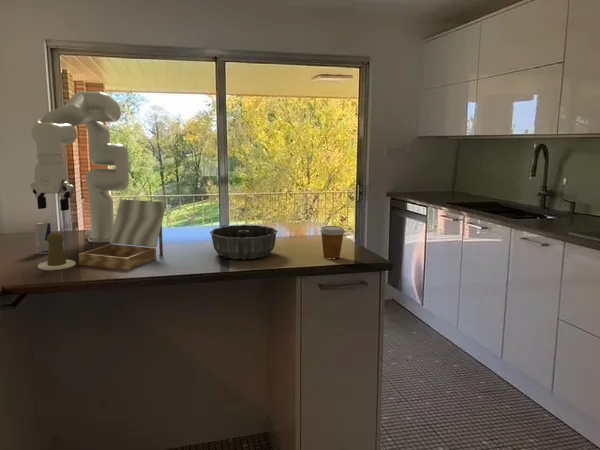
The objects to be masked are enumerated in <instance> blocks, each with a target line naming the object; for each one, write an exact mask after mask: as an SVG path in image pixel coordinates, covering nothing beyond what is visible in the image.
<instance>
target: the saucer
mask: <svg viewBox="0 0 600 450" xmlns="http://www.w3.org/2000/svg"><path fill="white" fill-rule="evenodd" d="M47 263H48V260H47V261H44V262H40V263H38V264H37V269H38V270H39V271H40V270H41V271H59V270H61V269H62V270H67V269H71V268H73V267H75V266H76V260H72V259H66V264H64V265H59V266H49V265H47ZM62 270H61V271H62Z"/></svg>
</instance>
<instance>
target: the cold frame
mask: <svg viewBox="0 0 600 450" xmlns="http://www.w3.org/2000/svg"><path fill="white" fill-rule="evenodd" d="M118 204H119V205H118V208H117V212H116V215H115V219H114V228H113V232H112V236H111V241H110V242H109V244H106V245H103V246H99V247H96V248H93V249H90V250H87V251H83V252H79V253H78V265H80V266H81V265H82V266H90V267H99V268H107V269H108V268H110V269H118V270H119V269H120V270H126V271H129V270H131V269H134V268H136V267H138V266H141V265H143V264H146V263H148V262H150V261H154V260H156V259H157V247H158V246H159V247H158V248H159V256H161V257H163V256H164V254H163V253H164V249H163V248H164V247H163V246H164V245H163V243H164V242H163V220H164V215H165V209H166V205H167V202H166V201H154V200H152V201H151V200H140V199H139V200H138V199H137V200H136V199H123V198H122V199H120V200H119V203H118ZM158 244H159V245H158Z"/></svg>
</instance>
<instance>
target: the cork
mask: <svg viewBox="0 0 600 450" xmlns="http://www.w3.org/2000/svg"><path fill="white" fill-rule="evenodd" d="M47 241H48V243H49V249H48V254H47V261H48V263H47V265H49V266H59V265H64V264H66V260H67V259H66V255H65V251H64V247H63V246H64V245H63V241H64V235H63V234H62V233H61V232H53V233H52V232H51V234H48V235H47Z"/></svg>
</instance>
